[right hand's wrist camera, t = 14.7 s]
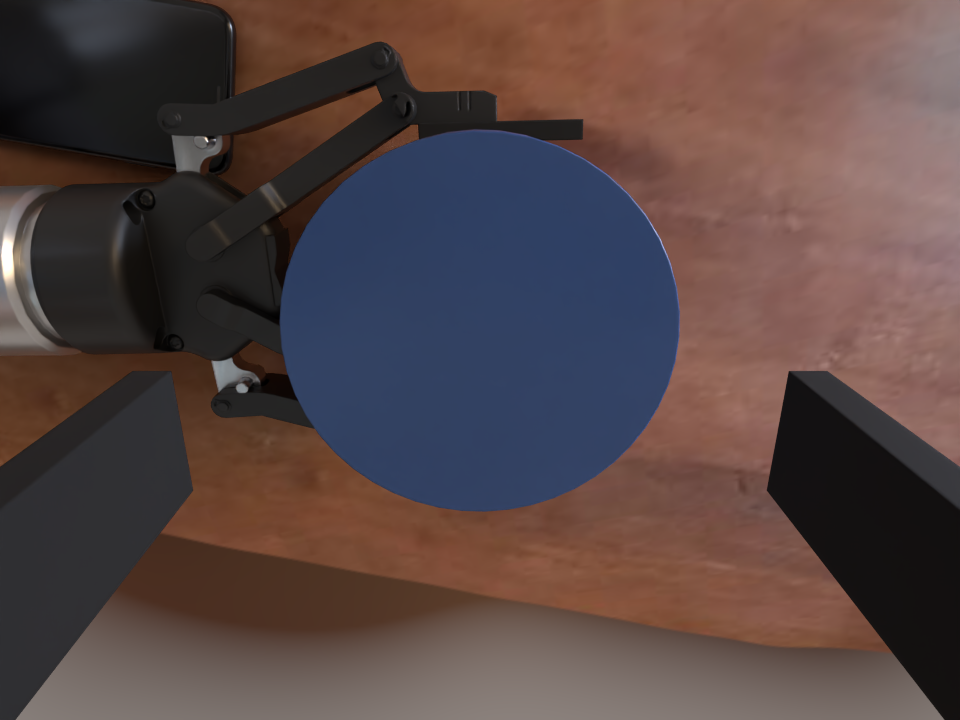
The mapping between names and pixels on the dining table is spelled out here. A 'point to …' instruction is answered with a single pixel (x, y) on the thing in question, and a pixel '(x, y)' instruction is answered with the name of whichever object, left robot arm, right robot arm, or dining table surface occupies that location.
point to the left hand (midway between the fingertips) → (574, 260)
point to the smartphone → (111, 74)
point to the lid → (479, 320)
